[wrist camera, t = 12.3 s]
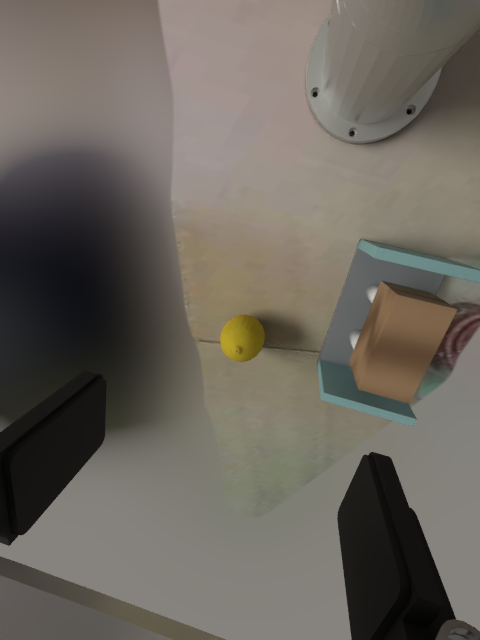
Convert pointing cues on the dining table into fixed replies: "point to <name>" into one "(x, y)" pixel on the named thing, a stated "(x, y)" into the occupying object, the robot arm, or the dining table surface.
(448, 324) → the brown wooden block
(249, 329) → the lemon
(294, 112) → the dining table surface
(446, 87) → the dining table surface
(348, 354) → the peg frame
